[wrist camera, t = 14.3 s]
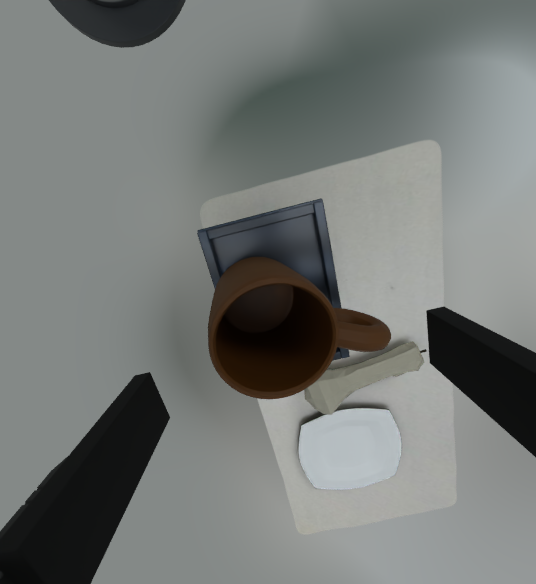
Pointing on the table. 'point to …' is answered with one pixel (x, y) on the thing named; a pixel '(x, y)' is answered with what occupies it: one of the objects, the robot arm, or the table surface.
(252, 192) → the table surface
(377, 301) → the table surface
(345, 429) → the plate
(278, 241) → the pedestal tray stand
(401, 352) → the faceted club
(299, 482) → the table surface
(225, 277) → the mug
